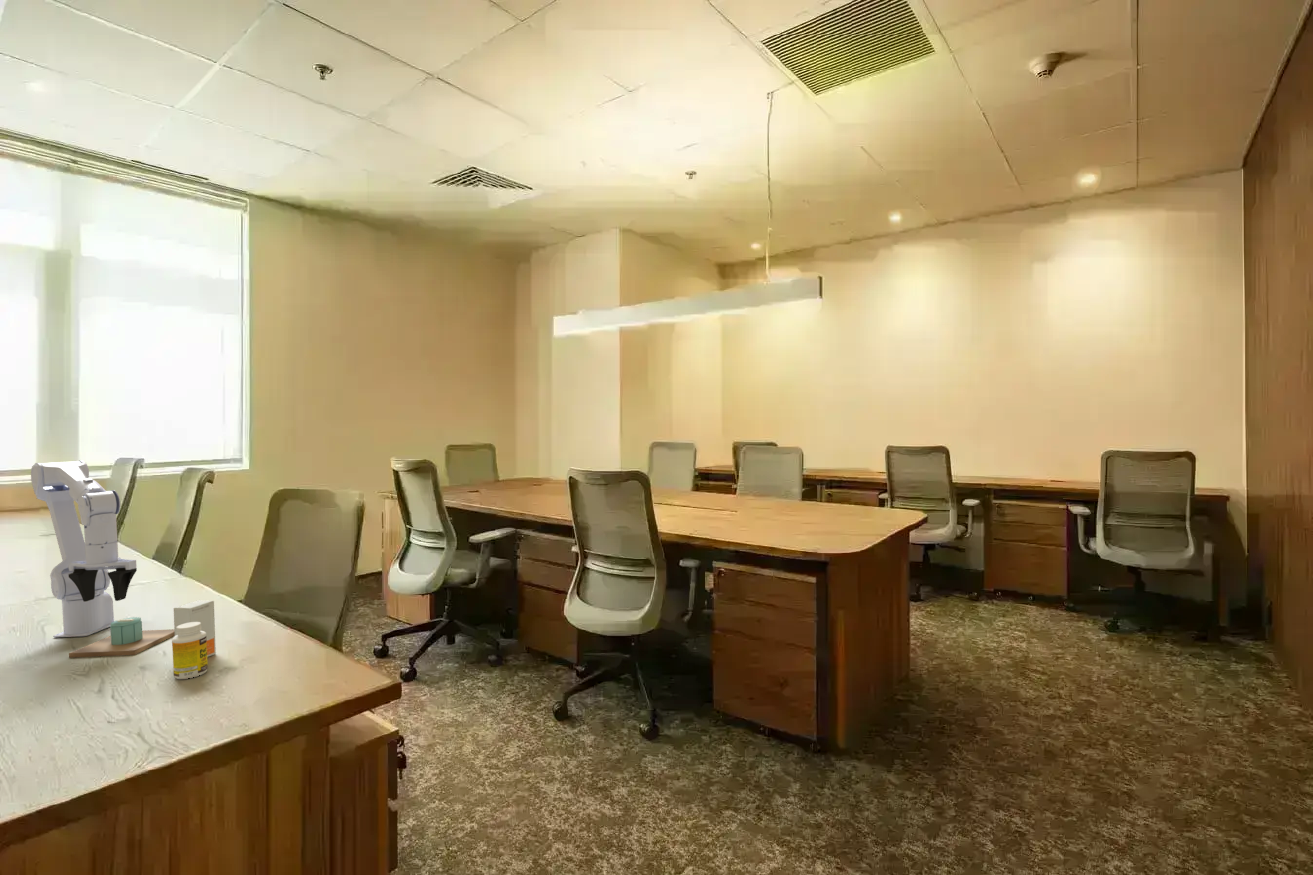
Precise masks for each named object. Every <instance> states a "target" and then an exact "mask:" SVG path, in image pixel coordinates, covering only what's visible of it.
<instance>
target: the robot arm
mask: <svg viewBox="0 0 1313 875" xmlns="http://www.w3.org/2000/svg"><path fill="white" fill-rule="evenodd" d="M30 480H31V481H30V482H31V485H32V489H33V492H34V495H35V497H36V499H38V500H41V501H42V502H45V503H46V506H47V508H48V511H49V513H50V519H51V522H52V525H53V530H54V533H55V537H56V540H57V544H58V549H59V552H60V556H61V559H62V560H61V561H60V562H59V563H58V564H57V565H56V566H54V567H53V568H52V570H51V573H50V575H49V576H50V586H51V587H50V588H51V592H52V596H53V597H54V598H56V599H57V600H61V607H62V609H61V610H62V621H63V622H62V624H63V625H62V626H63V631H62V632H61V631H60V632H59V633H57V634H54V635H53V638H70V637H71V638H72V637H74V638H76V637H88V636H90V635H93V634H95V633H98V632H100V631H102V630H105V629H108V628H110V624H111V623H112V622H114V621H115V617H114V616H115V614H114V601H115V602H119V601H121V600H125V599H126V598H127V597H126V596H127V593H128V590H129V586H130V583H131V581H132V579H133V577H134V575H135V574H136V572H137V567H138V566H137V559H126V558H121V557H119V546H118V527H117V515H118V514H119V513H120V510H121V499H120V495H119V493H118V492H117V491H116V490H115V489H113V490H106V489H105V488H104V487H103V486H102V485H101V484H100V483H99V482H98V481H96V480H95V479H93V478H92V477H90V470H89V465H88V464H87V462H85V461H84V460H81V459H80V460H75V461H73V460H72V461H58V462H57V461H55V462H35V463H34V464H33V465H32V466H31V468H30ZM75 502H76V503H77V509H76V505H75ZM77 510H78V513H79V515H80V520H79V517H78V513H77ZM80 522H81V524H80ZM81 525H82V526H83V530H84V531H82V527H81ZM83 532H84V534H83ZM109 570H113V571H109ZM110 581H111V582H110ZM110 583H111V585H112V589H113V597H114V601H113V598H112V595H111V594H110V593H109V592H106V590H107V589H108V588H109V587H110Z"/></svg>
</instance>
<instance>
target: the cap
mask: <svg viewBox="0 0 1313 875" xmlns="http://www.w3.org/2000/svg"><path fill="white" fill-rule="evenodd" d="M109 630H110V636H111V644H112V645H122V644H127V643H132V642H136V641H138V640H140V639H142V638H143V636H142V631H143V622H142V617H140V616H139V617H137V616H136V617H135V616H133V617H126V618H121V619H117V620H114V622H112V623H111V624H110V627H109Z"/></svg>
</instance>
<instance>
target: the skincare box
mask: <svg viewBox="0 0 1313 875" xmlns="http://www.w3.org/2000/svg"><path fill="white" fill-rule="evenodd" d="M215 619H216V618H215V601H214V600H207V599H205V600H204V599H199V600H195V601H191V602H187V603H185V604H183V605H179V606H176V607H174V608H173V623H174V624H173V625H174V628H173V629H174V632H175V636H176V635H177V633H176V632H177V626H179V625H181V624H185V623H189V622H200V623H201V631H204V632H206V639H207V658H209V657H211V656H215V655H216V653H217V652H216V650H217V648H216V628H215V627H216V625H215V623H216V622H215ZM175 636H174V637H175ZM214 654H215V655H214Z"/></svg>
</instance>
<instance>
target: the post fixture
mask: <svg viewBox="0 0 1313 875" xmlns="http://www.w3.org/2000/svg"><path fill="white" fill-rule="evenodd" d="M142 636H143V638H142V639H140V640H138V641H136V642H132V643H127V644H122V645H112V644H111V635H108V636H106V637H103V638H101V639H99V640H97V641H95V642H92V643H90V644H88V645H85V646H83V647H81V648H77V649H76V650H73V651H71V652H68V658H69V659H72V658H73V659H74V658H92V657H115V656H119V657H120V656H136V655H139V653H141V652H143V651H146V650H147V649H149V648H152V647H153V646H156V645H158V644H160V642H161V643H162V641H163V642H164V640H165V641H166V639H167V640H169V639H171V638H173V637H175V632H174V628H173V629H146V630H145V629H144V630H142Z"/></svg>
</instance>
